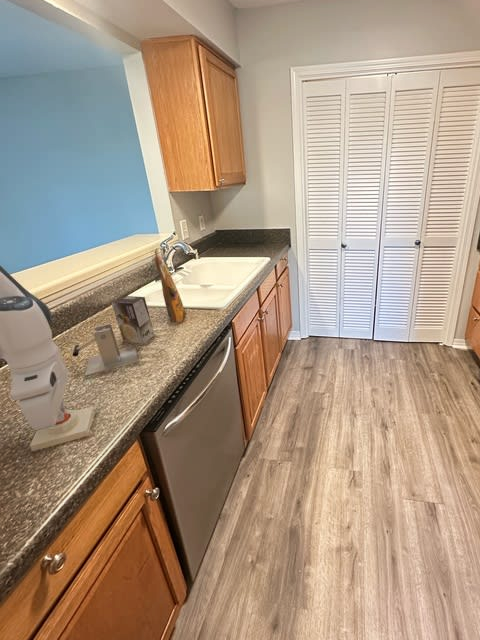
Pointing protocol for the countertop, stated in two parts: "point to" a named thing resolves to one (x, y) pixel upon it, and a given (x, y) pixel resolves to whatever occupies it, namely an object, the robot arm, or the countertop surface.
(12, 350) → the robot arm
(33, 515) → the countertop surface
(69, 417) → the button
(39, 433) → the control block
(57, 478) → the countertop surface
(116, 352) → the toaster bracket
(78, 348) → the toast lever
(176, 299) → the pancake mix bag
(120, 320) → the coffee box
